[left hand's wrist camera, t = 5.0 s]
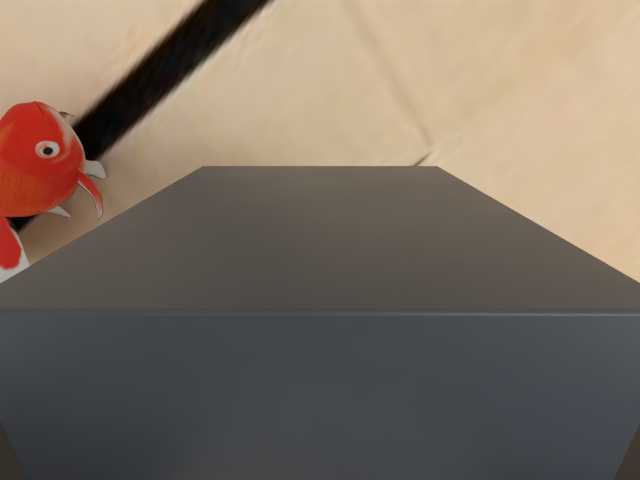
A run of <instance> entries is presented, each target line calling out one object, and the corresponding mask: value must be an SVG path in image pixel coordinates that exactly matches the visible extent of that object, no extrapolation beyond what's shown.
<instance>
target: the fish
mask: <svg viewBox="0 0 640 480" xmlns="http://www.w3.org/2000/svg"><path fill="white" fill-rule="evenodd" d="M67 115H71V114H68V113H65V112H59V113H58V112H57V111H56V110H55V109H53V108H52V107H50V106H48V105H46V104H44V103H41V102H35V101H34V102H31V103H21V104H16V105H14V106H13V107H12V108H10V109H9V110H8V111H7V113H6V114H5V115H4V116H3V117H2V119H1V120H0V283H1V282H3V281H5V280H7V279H8V278H10V277H12V276H14V275H15V274H17V273H19V272H21V271H22V270H24V269H26V268H27V267H29V266H30V265H29V262H28V260H27V257H26V255H25V252H24V249H23V247H22V244H21V241H20V239H19V236H18V233H17V231H16V228H15V225H14V223H13V220H12V218H11V217H25V216H31V215H35V214H40V213H43V212H48V213H52V214H57V215H61V216H64V217H71V216H70V215H69V214H68V213H67V212H65V211H64V210H63V209H62V208H61V207H59V206H58V205H60V204H61V203H63V202H64V201H66V200H67V199H69V198H70V197H71V195H72V194H73V193H74V191H75V190H76V189H77V187H78V186H79V184H80V185H81V187H82V188H84V189H85V190H86V191H87V192H88V193H89V194H90V195H91V196H92V198H93V200H94V203H95V206H96V209H97V212H98V215H99V218H98V220H99V219H100V218H101V216H102V214H103V205H102V196H101V193H100V191H99V190H98V188H97V187H96V185H95V184H94V182H93V180H92V179H90V178H89V177H88V176H87V175H91V176H95V177H97V178H100V179H104V178H105V177H106V173H105V171H104V168H103V166H102V164H101V163H100V162H98V161H88V160H86V159H85V154H84V150H83V146H82V144H81V142H80V140H79V138H78V137H77V135H76V133H75V132H74V130H73V129H72V128H71V126H70V125H69V123H68V122H67V121H66V120H65V118H66V116H67ZM74 116H75V115H74Z"/></svg>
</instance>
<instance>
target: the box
mask: <svg viewBox="0 0 640 480" xmlns="http://www.w3.org/2000/svg"><path fill="white" fill-rule="evenodd" d="M0 422H1V424H2V427H3V429H4V431H5V433H6V435H7V438H8V440H9V442H10V444H11V446H12V449H13V451H14V453H15V455H16V457H17V460H18V462H19V464H20V466H21V468H22V470H23V473H24V475H25V477H26V479H27V480H614V478H615V476H616V474H617V472H618V469H619V467H620V465H621V463H622V461H623V458H624V456H625V454H626V452H627V450H628V447H629V445H630V443H631V441H632V439H633V437H634V434H635V432H636V430H637V428H638V426H639V423H640V283H639V282H637V281H636V280H634V279H632V278H630V277H629V276H627V275H625V274H623V273H622V272H620V271H618V270H616V269H615V268H613V267H611V266H609V265H608V264H606V263H604V262H603V261H601V260H599V259H597V258H596V257H594V256H592V255H590V254H589V253H587V252H585V251H583V250H582V249H580V248H578V247H576V246H575V245H573V244H571V243H569V242H568V241H566V240H564V239H563V238H561V237H559V236H557V235H556V234H554V233H552V232H550V231H549V230H547V229H545V228H543V227H542V226H540V225H538V224H536V223H535V222H533V221H531V220H530V219H528V218H526V217H524V216H523V215H521V214H519V213H517V212H516V211H514V210H512V209H510V208H509V207H507V206H505V205H503V204H502V203H500V202H498V201H497V200H495V199H493V198H491V197H490V196H488V195H486V194H484V193H483V192H481V191H479V190H477V189H476V188H474V187H472V186H470V185H469V184H467V183H465V182H463V181H462V180H460V179H458V178H457V177H455V176H453V175H451V174H450V173H448V172H446V171H444V170H443V169H441V168H439V167H437V166H203V167H201V168H199V169H198V170H196V171H194V172H192V173H191V174H189V175H187V176H185V177H184V178H182V179H180V180H178V181H177V182H175V183H173V184H172V185H170V186H168V187H166V188H165V189H163V190H161V191H159V192H158V193H156V194H154V195H152V196H151V197H149V198H147V199H146V200H144V201H142V202H140V203H139V204H137V205H135V206H133V207H132V208H130V209H128V210H126V211H125V212H123V213H121V214H119V215H118V216H116V217H114V218H113V219H111V220H109V221H107V222H106V223H104V224H102V225H100V226H99V227H97V228H95V229H93V230H92V231H90V232H88V233H86V234H85V235H83V236H81V237H80V238H78V239H76V240H74V241H73V242H71V243H69V244H67V245H66V246H64V247H62V248H60V249H59V250H57V251H55V252H54V253H52V254H50V255H48V256H47V257H45V258H43V259H41V260H40V261H38V262H36V263H34V264H33V265H31V266H29V267H27V268H26V269H24V270H22V271H21V272H19V273H17V274H15V275H14V276H12V277H10V278H8V279H7V280H5V281H3V282H1V283H0Z"/></svg>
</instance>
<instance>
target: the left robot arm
mask: <svg viewBox="0 0 640 480" xmlns="http://www.w3.org/2000/svg"><path fill="white" fill-rule="evenodd" d="M0 480H27V479H26V477H25V475H24V473H23V470H22V468H21V466H20V464H19V462H18V460H17V457H16V455H15V453H14V451H13V449H12V446H11V444H10V442H9V440H8V438H7V435H6V433H5V431H4V429H3V427H2V424H1V422H0ZM614 480H640V423H639V426H638V428H637V430H636V432H635V434H634V437H633V439H632V441H631V443H630V445H629V447H628V450H627V452H626V454H625V456H624V458H623V461H622V463H621V465H620V467H619V469H618V472H617V474H616V476H615V478H614Z"/></svg>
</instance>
